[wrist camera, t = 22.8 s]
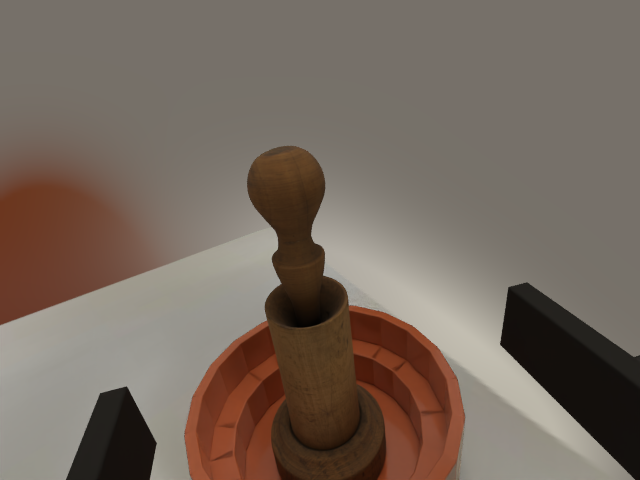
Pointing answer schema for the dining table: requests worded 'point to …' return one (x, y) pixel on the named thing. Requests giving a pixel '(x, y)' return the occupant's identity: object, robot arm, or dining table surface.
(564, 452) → the dining table surface
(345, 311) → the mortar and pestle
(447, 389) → the bowl
